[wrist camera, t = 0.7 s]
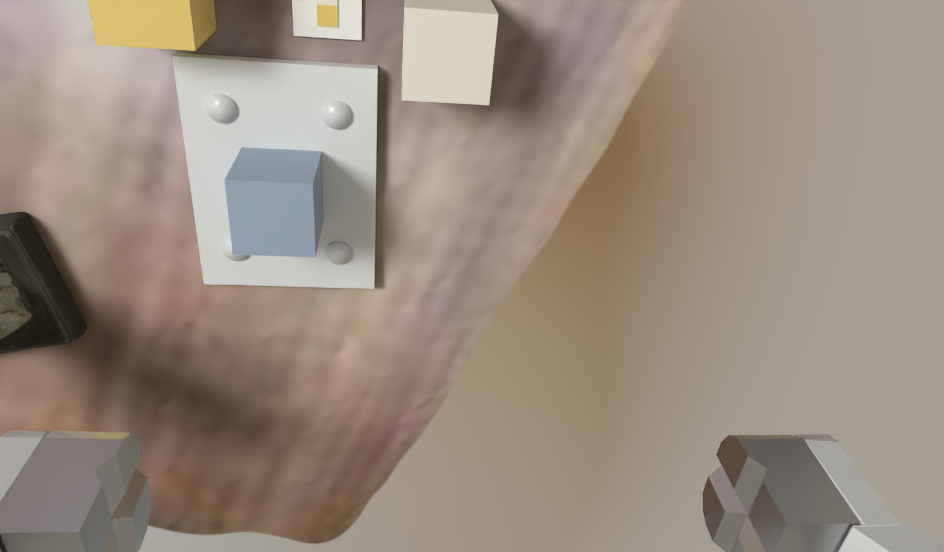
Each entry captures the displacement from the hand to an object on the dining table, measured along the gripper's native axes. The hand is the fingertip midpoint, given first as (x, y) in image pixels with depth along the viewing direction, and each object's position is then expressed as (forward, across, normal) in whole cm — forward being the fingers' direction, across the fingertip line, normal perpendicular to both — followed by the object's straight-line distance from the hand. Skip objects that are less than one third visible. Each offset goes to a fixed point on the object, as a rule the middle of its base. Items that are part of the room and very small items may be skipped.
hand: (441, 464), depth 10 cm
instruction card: (+37, +5, 0) cm, 37 cm away
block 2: (+36, +8, +12) cm, 39 cm away
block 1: (+37, +14, 0) cm, 39 cm away
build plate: (+37, +8, +12) cm, 40 cm away
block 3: (+37, -2, +2) cm, 37 cm away
